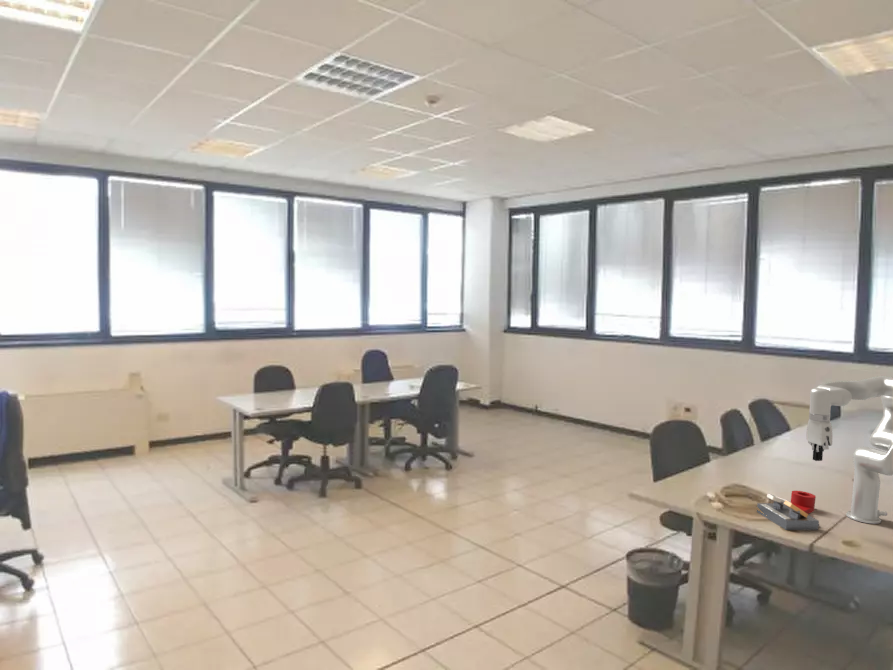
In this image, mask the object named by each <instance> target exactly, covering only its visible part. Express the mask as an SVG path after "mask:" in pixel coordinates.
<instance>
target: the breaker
mask: <svg viewBox="0 0 893 670" xmlns="http://www.w3.org/2000/svg"><path fill="white" fill-rule="evenodd" d="M766 498H767V499H770V500H772V501H773V502H774V501H777V502H779V503H781V504H784V502H785V501H788V502H790V503H791V501H789V500H787V499H785V498H781V497H779V496H776V495H774V494H770V493H767V495H766Z"/></svg>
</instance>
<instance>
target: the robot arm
mask: <svg viewBox="0 0 893 670" xmlns="http://www.w3.org/2000/svg"><path fill="white" fill-rule="evenodd" d="M809 394H810V395H809V413H808V421H807V427H806V440H807V443H808V444H809V445H810V446H811V450H812V460H813V461H815V462H821V461H823V456H824V455H823V452H825V450H829V449H830V446H832V445H833V428H832V427H833V426H832V422H831V407H832V406H836V407H843V406H847V405H849V404H850V403H851V402H852V400H855V401H866V400H869V399H870V400H871V399H874V398H879V397H880V401H881V406H882V411H883V414H882V417H881V419H880V421H879V422H878V424H877V426H876V427H875V429H874V430H873V431H872V433H871V435H870V437H869V444H870V445H871V446H872V447H870V446H859V447H857V448H856V449H855V450H854V452H853V454H852V460H853V461H852V462H853V470H854V472H853V484H852V496H851V505H850V506H851V507H850V510H848V511H847V512H845V515H846V517H848V519H851V520H853V521H856V522H861V523H865V524H871V525H872V524H874V525H877V524H880V523H882V519H881V517H886V516H888V512H887V511H885V510H883V511H882V510H880V509H879V500H880V489H881V477H880V475H884V476H888V477H891V476H892V477H893V376H887V375H886V376H885V375H879V376H878V375H877V376H873V377H869V378H864V379H860V380H847V381H846V380H844V381H830V382H826V383H822V384H819V385H817V386H816V387H812V388H811V389H810V393H809ZM879 474H880V475H879Z"/></svg>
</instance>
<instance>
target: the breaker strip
mask: <svg viewBox="0 0 893 670" xmlns="http://www.w3.org/2000/svg"><path fill="white" fill-rule="evenodd" d="M757 507H758V508H759V509H760V510H761V511H762V512H763V513H764V514H763V513H761V512H760V511H758V510H757V509H756V513H757V514H759V515H761V516H762V517H764V518H766V519H767V520H768V521H771V522H772V523H774V524H776V525H777V526H779V527H780V528H782V529H784V530H785V531H819V526H818V524H819V525H820V520H818V519H817V518H815V517H813V516H811V515H810V514H808V516H807V518H806V517H804V516H802V515H800V514H799V513H797V512H795V511H793V510H792V509H790V507H788V506H787V505H785V504H781V503H779V502H777V501H774V500H773V503H770V502H768V503H766V502H765V503H764V502H757V506H756V508H757ZM766 515H767V516H766Z"/></svg>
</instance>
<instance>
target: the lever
mask: <svg viewBox="0 0 893 670" xmlns="http://www.w3.org/2000/svg"><path fill="white" fill-rule="evenodd" d="M816 498H817V497H816V495H815V494H813V493H811V492H808V491H807V492H806V491H802V490H792V491H791V496H790V502H791V503H792V504H793V505H795V506H796V507H798V508H799V509H801V510H802V511H804V512H805V513H807V514H808V515H810V513H813V512H815V505H816V504H815V503H816Z"/></svg>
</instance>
